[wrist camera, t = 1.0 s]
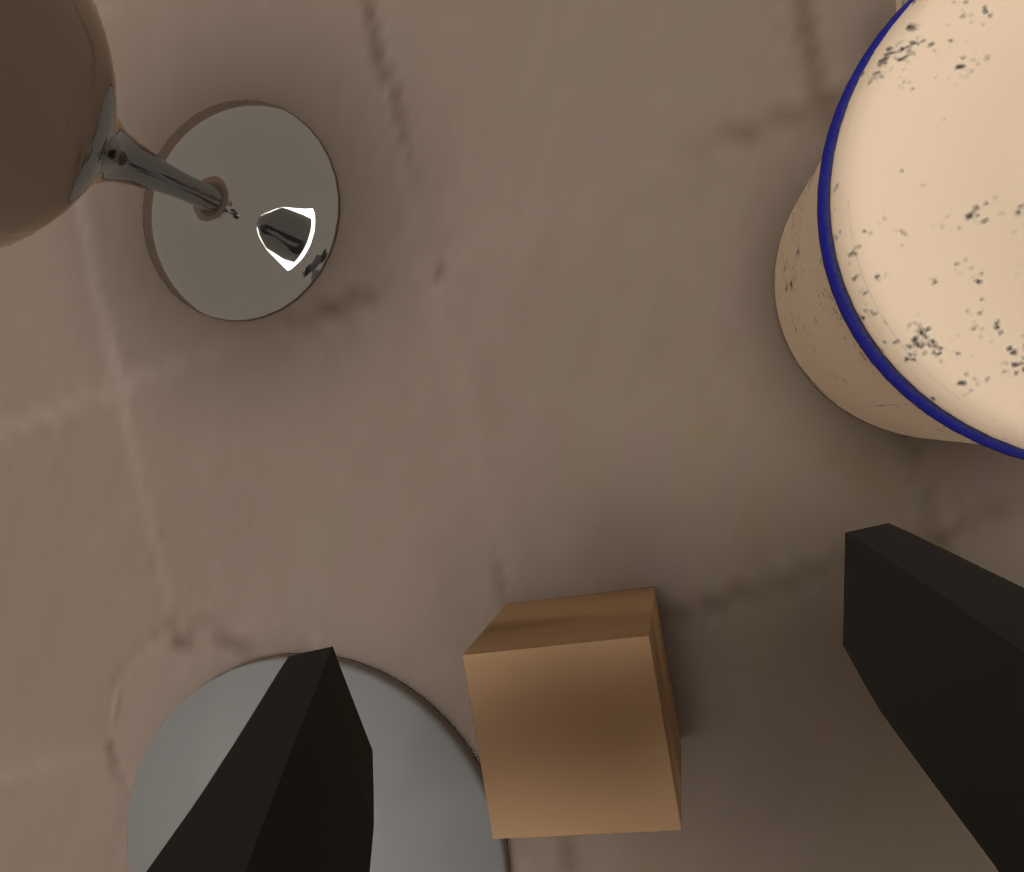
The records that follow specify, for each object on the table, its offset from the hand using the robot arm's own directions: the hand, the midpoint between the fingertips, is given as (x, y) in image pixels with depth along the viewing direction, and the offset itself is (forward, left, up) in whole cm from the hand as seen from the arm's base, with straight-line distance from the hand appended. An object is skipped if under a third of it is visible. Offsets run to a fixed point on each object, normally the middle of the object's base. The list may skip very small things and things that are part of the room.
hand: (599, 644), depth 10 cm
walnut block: (-4, +2, -12) cm, 13 cm away
